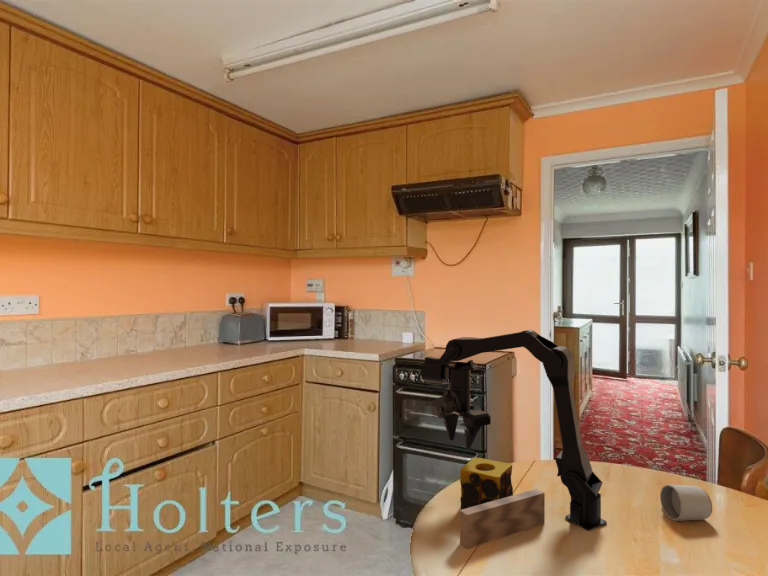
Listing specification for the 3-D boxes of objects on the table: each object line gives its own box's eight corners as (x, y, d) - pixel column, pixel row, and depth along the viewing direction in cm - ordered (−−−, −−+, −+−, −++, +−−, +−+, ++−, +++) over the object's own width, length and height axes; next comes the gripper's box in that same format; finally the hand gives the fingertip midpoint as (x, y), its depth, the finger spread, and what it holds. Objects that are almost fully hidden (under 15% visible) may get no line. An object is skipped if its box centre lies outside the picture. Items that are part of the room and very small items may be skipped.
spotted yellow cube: (513, 503, 118) (513, 463, 118) (500, 520, 110) (500, 477, 110) (475, 494, 124) (475, 455, 124) (459, 509, 115) (459, 468, 115)
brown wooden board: (536, 518, 110) (536, 488, 110) (544, 523, 108) (544, 492, 108) (459, 543, 100) (459, 510, 100) (467, 548, 98) (466, 515, 98)
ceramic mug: (715, 525, 107) (715, 491, 107) (681, 527, 106) (681, 492, 107) (682, 504, 118) (681, 473, 118) (650, 505, 117) (650, 474, 117)
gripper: (415, 382, 130) (415, 438, 131) (456, 396, 114) (456, 461, 114) (448, 378, 136) (448, 432, 136) (492, 391, 119) (492, 453, 119)
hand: (459, 444), depth 126 cm, fingers open, 7 cm apart
